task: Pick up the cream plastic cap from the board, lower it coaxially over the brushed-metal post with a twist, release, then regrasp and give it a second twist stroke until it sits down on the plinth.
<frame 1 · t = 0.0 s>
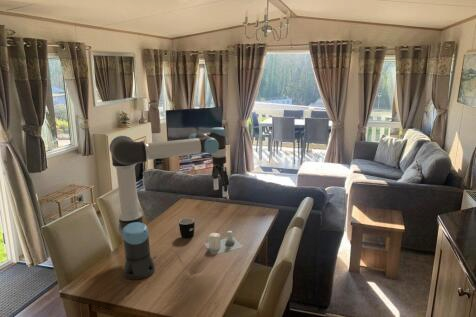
hand: (220, 193, 201), 28 cm above the table, fingers open, 13 cm apart
post board: (223, 247, 198), on the table
cap: (214, 247, 196), point 1 cm above the table, touching post board
mug: (189, 236, 213), on the table
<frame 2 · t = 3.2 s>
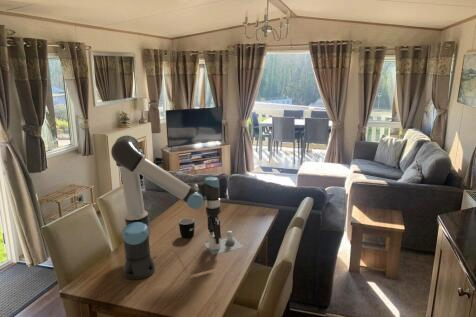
hand: (214, 246, 196), 2 cm above the table, fingers closed on cap, 6 cm apart
cap: (214, 247, 196), point 1 cm above the table, touching gripper, post board
everything else where it was.
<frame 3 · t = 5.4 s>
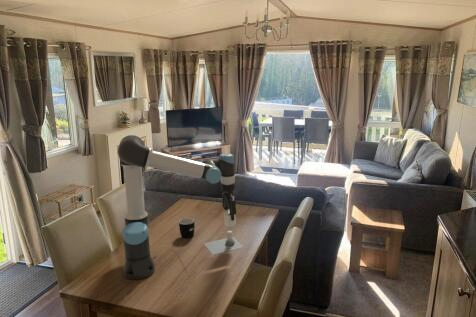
hand: (229, 223, 197), 13 cm above the table, fingers closed on cap, 6 cm apart
cap: (229, 224, 197), point 13 cm above the table, touching gripper
everything else where it was.
when the fingers open (4 cm above the table, at t = 7.6 s): cap stays where it is, resting on post board.
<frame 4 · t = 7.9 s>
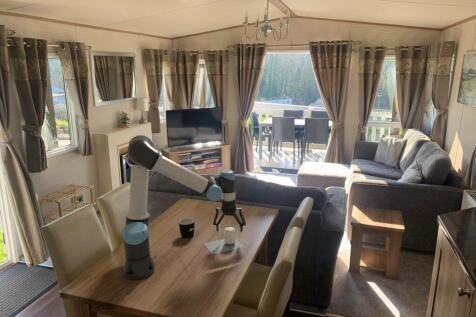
hand: (229, 236, 198), 5 cm above the table, fingers open, 10 cm apart
cap: (229, 241, 199), point 3 cm above the table, touching post board
everything else where it was.
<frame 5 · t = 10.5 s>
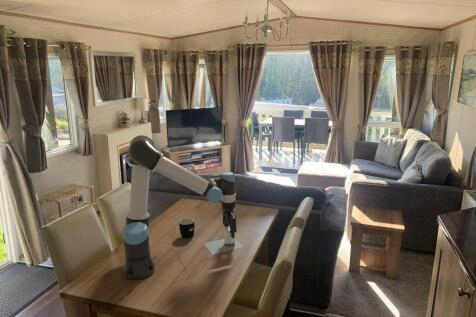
hand: (229, 239, 199), 3 cm above the table, fingers closed on cap, 6 cm apart
cap: (229, 241, 199), point 3 cm above the table, touching gripper, post board
everything else where it was.
when the fingers open (4 cm above the table, at t = 11.4 s): cap stays where it is, resting on post board.
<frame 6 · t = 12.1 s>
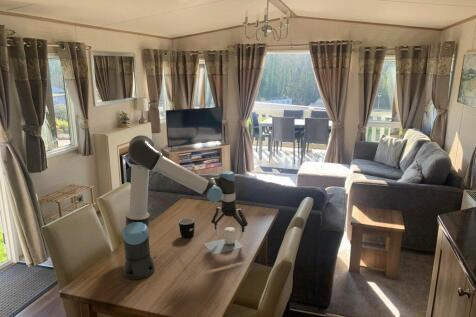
hand: (229, 236, 198), 6 cm above the table, fingers open, 13 cm apart
cap: (229, 241, 199), point 3 cm above the table, touching post board
everything else where it was.
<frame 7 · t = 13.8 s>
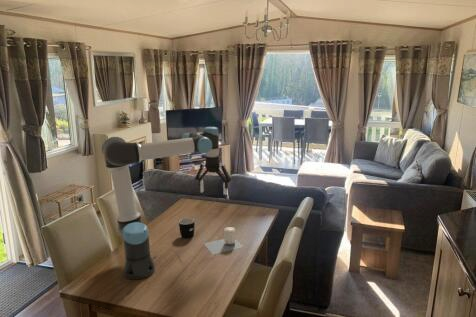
hand: (213, 192, 200), 28 cm above the table, fingers open, 13 cm apart
nothing on the table moved.
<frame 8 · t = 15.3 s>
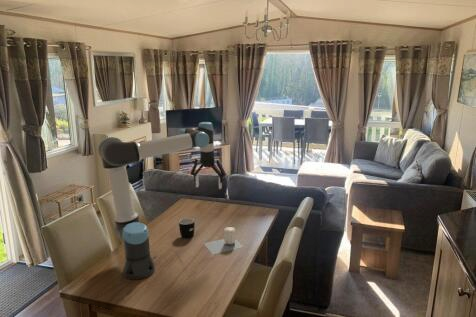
hand: (208, 187, 202), 31 cm above the table, fingers open, 13 cm apart
nothing on the table moved.
at the end: cap 0.0 cm from the target spot on the post board, point 2.7 cm above the post board's base; cap tilted 0°; the gripper is holding nothing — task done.
